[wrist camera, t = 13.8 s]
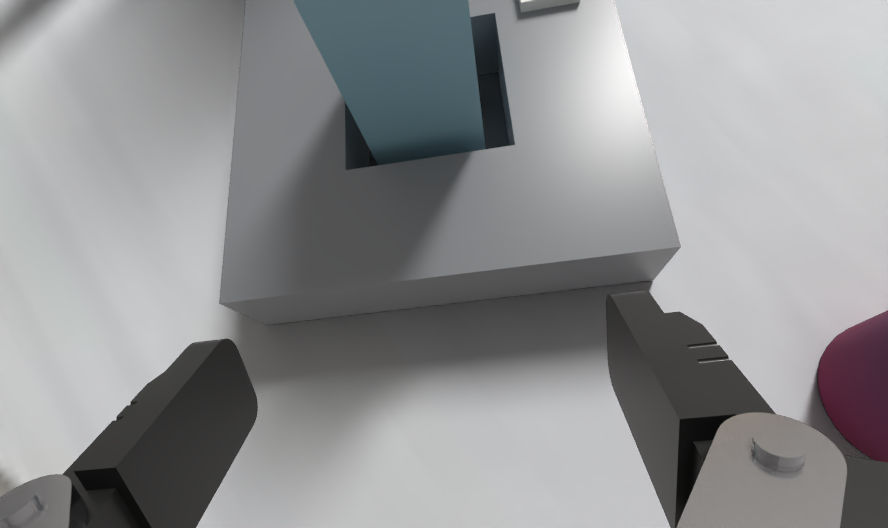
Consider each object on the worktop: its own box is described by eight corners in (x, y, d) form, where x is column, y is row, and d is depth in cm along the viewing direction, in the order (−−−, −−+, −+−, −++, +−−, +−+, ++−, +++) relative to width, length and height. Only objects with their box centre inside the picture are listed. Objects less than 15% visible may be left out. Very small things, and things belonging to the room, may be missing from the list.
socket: (266, 324, 21) (210, 299, 17) (280, 36, 26) (241, -30, 23) (653, 280, 19) (685, 240, 15) (580, -19, 25) (591, -100, 21)
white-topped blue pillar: (390, 189, 22) (259, -65, 11) (387, 108, 24) (270, -186, 13) (489, 175, 22) (455, -105, 11) (478, 93, 23) (441, -226, 12)
